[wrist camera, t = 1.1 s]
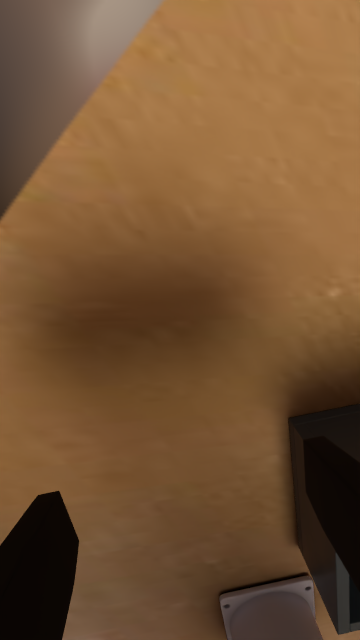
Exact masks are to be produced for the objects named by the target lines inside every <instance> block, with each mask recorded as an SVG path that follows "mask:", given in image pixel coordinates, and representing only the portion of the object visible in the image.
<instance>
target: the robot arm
mask: <svg viewBox="0 0 360 640" xmlns="http://www.w3.org/2000/svg"><path fill="white" fill-rule="evenodd" d="M303 449H304V468H305V488H306V494H307V496H308V498H309V501H310V503H311V505H312V507H313V509H314V512H315V514H316V516H317V518H318V520H319V522H320V524H321V527H322V529H323V531H324V532H325V534H326V536H327V538H328V539H329V541H330V543H331V544H332V546H333V548H334V550H335V551H336V553H337V555H338V556H339V558H340V560H341V562H342V563H343V565H344V567H345V568H346V570H347V572H348V574H349V575H350V577H351V579H352V580H353V582H354V584H355V585H356V587H357V589H358V591H359V592H360V462H359V461H357V460H356V459H355V458H353V457H352V456H351V455H349V454H348V453H347V452H345V451H344V450H342V449H341V448H340V447H338V446H337V445H336V444H334V443H333V442H332V441H330V440H329V439H327V438H326V437H325V436H318V437H314V438H309V439H304V440H303ZM78 546H79V539H78V537H77V534H76V532H75V529H74V527H73V524H72V522H71V519H70V517H69V514H68V512H67V509H66V507H65V504H64V502H63V499H62V497H61V494H60V492H59V491H55V492H51V493H46V494H41V495H38V496H37V497H36V498H35V500H34V501H33V502H32V504H31V505H30V506H29V508H28V509H27V510H26V512H25V513H24V514H23V516H22V517H21V518H20V520H19V521H18V522H17V524H16V525H15V526H14V528H13V529H12V531H11V532H10V533H9V535H8V536H7V537H6V539H5V540H4V541H3V543H2V544H1V545H0V640H62V637H63V632H64V628H65V623H66V619H67V614H68V610H69V605H70V600H71V596H72V591H73V586H74V580H75V572H76V564H77V555H78ZM219 600H220V605H221V610H222V615H223V620H224V625H225V629H226V634H227V639H228V640H323V638H322V635H321V633H320V630H319V628H318V626H317V623H316V618H315V602H314V587H313V581H312V578H311V577H310V576H302V577H297V578H293V579H288V580H284V581H279V582H274V583H270V584H265V585H261V586H256V587H252V588H247V589H242V590H238V591H233V592H229V593H224V594H222V595H221V596H220V597H219Z"/></svg>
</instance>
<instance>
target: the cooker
mask: <svg viewBox="0 0 360 640" xmlns="http://www.w3.org/2000/svg"><path fill="white" fill-rule="evenodd" d="M289 431H290V444H291V456H292V468H293V481H294V493H295V505H296V518H297V530H298V543H299V549H300V551H301V553H302V555H303V558H304V560H305V562H306V564H307V566H308V569H309V571H310V573H311V575H312V578H313V580H314V582H315V584H316V587H317V589H318V591H319V593H320V595H321V598H322V600H323V602H324V604H325V607H326V609H327V611H328V613H329V616H330V618H331V620H332V622H333V625H334V627H335V629H336V631H337V633H338V635H339V634H344V633H348V632H352V631H357V630H360V592H359V591H358V589H357V587H356V585H355V584H354V582H353V580H352V579H351V577H350V575H349V574H348V572H347V570H346V568H345V567H344V565H343V563H342V562H341V560H340V558H339V556H338V555H337V553H336V551H335V550H334V548H333V546H332V544H331V543H330V541H329V539H328V538H327V536H326V534H325V532H324V531H323V529H322V527H321V524H320V522H319V520H318V518H317V516H316V514H315V512H314V509H313V507H312V505H311V503H310V501H309V498H308V496H307V494H306V488H305V468H304V449H303V440H304V439H309V438H314V437H318V436H325V437H326V438H327V439H329V440H330V441H332V442H333V443H334V444H336V445H337V446H338V447H340V448H341V449H342V450H344V451H345V452H347V453H348V454H349V455H351V456H352V457H353V458H355V459H356V460H357V461H359V462H360V404H356V405H351V406H346V407H341V408H337V409H332V410H327V411H322V412H317V413H312V414H307V415H302V416H298V417H293V418H289Z"/></svg>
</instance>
